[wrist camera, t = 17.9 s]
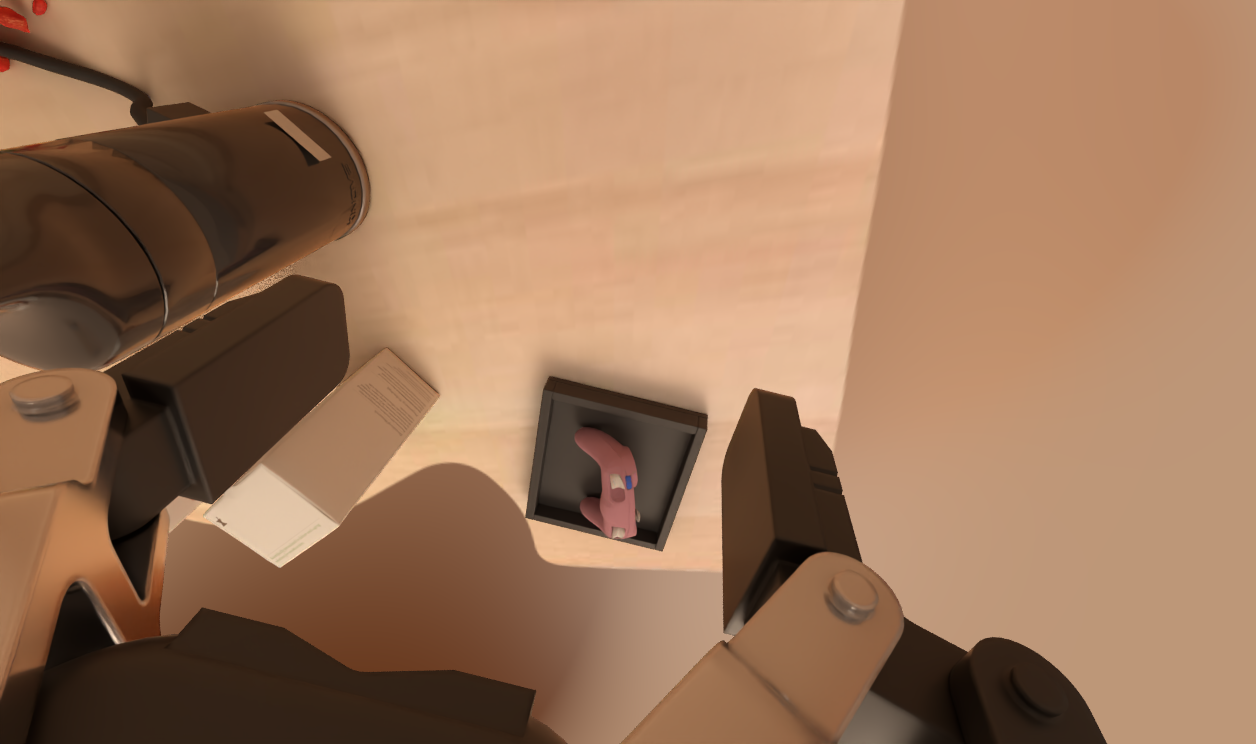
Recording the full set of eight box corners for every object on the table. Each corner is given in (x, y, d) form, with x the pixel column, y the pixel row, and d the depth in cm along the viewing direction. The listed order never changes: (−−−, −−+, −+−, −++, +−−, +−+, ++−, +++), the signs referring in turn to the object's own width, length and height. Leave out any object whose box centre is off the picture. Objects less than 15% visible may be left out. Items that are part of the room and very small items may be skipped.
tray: (531, 502, 54) (525, 518, 52) (549, 375, 45) (543, 389, 43) (664, 535, 54) (662, 551, 52) (707, 414, 45) (707, 429, 43)
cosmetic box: (389, 434, 51) (279, 573, 38) (332, 387, 49) (194, 517, 36) (444, 393, 48) (342, 531, 35) (385, 340, 45) (253, 465, 32)
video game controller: (623, 494, 53) (648, 549, 47) (577, 506, 52) (598, 564, 46) (621, 413, 47) (650, 464, 42) (571, 424, 46) (593, 478, 41)
